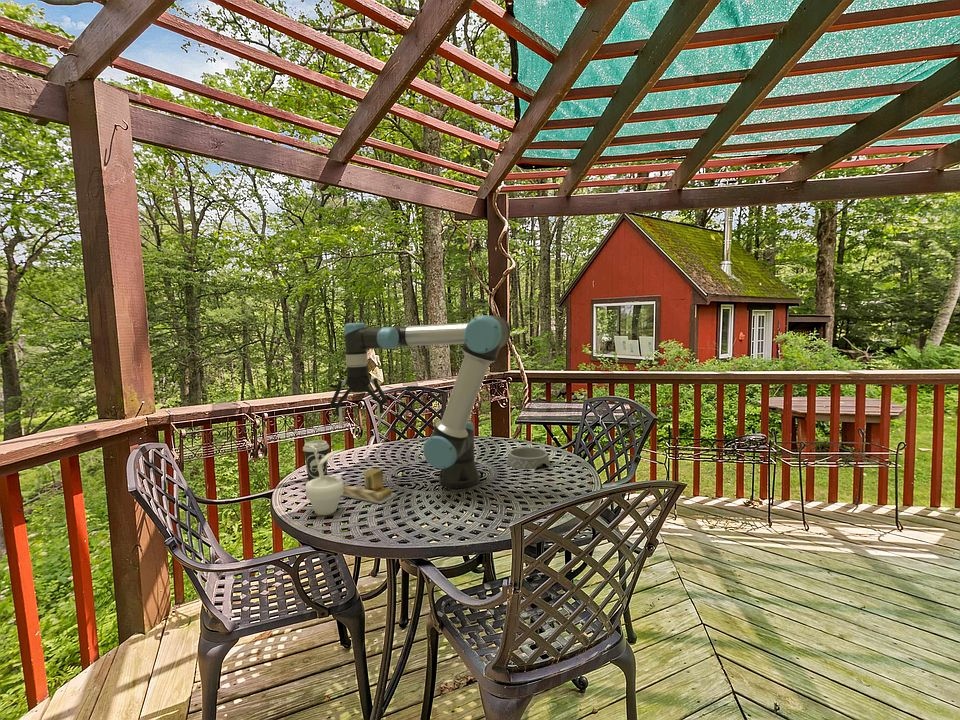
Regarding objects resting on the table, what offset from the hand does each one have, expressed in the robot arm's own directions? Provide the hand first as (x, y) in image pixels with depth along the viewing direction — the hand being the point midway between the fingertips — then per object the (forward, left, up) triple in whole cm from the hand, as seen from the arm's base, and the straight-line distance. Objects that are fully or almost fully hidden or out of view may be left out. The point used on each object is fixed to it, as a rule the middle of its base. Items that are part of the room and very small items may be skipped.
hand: (360, 423), depth 175 cm
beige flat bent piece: (-8, +7, -22) cm, 25 cm away
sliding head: (-10, +6, -22) cm, 25 cm away
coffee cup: (+19, +4, -24) cm, 31 cm away
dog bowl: (-45, -50, -24) cm, 71 cm away
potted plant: (-6, +23, -24) cm, 33 cm away
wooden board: (-9, +7, -23) cm, 26 cm away
